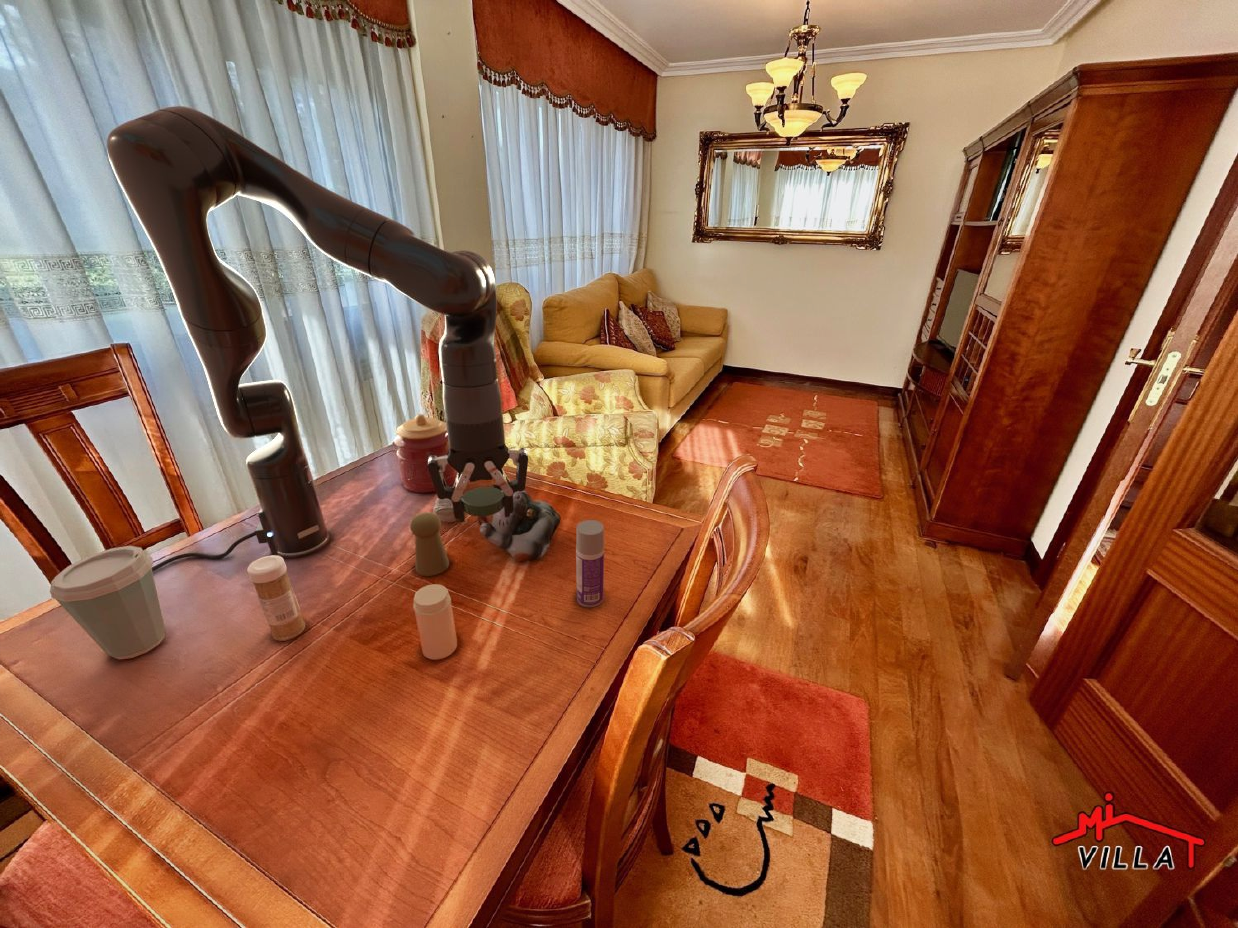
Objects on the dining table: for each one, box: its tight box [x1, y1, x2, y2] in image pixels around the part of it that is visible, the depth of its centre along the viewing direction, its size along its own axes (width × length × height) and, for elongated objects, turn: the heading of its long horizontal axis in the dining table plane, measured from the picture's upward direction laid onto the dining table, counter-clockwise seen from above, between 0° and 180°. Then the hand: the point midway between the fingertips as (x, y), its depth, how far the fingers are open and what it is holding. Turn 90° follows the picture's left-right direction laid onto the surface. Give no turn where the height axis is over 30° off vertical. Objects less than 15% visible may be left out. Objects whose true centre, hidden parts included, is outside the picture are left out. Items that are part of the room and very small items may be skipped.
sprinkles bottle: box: [247, 554, 306, 642], centre depth 76 cm, size 5×5×14 cm
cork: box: [409, 511, 450, 577], centre depth 93 cm, size 6×6×11 cm
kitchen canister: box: [393, 413, 458, 494], centre depth 120 cm, size 13×13×18 cm
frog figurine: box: [432, 497, 458, 524], centre depth 107 cm, size 6×7×7 cm
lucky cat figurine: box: [476, 484, 562, 562], centre depth 100 cm, size 15×12×14 cm
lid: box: [462, 486, 504, 518], centre depth 74 cm, size 6×6×2 cm
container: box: [575, 519, 605, 608], centre depth 85 cm, size 5×5×15 cm
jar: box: [412, 583, 458, 661], centre depth 75 cm, size 5×5×10 cm
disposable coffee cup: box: [49, 545, 166, 660], centre depth 73 cm, size 11×11×15 cm
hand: (485, 516), depth 75 cm, fingers closed on lid, 6 cm apart
